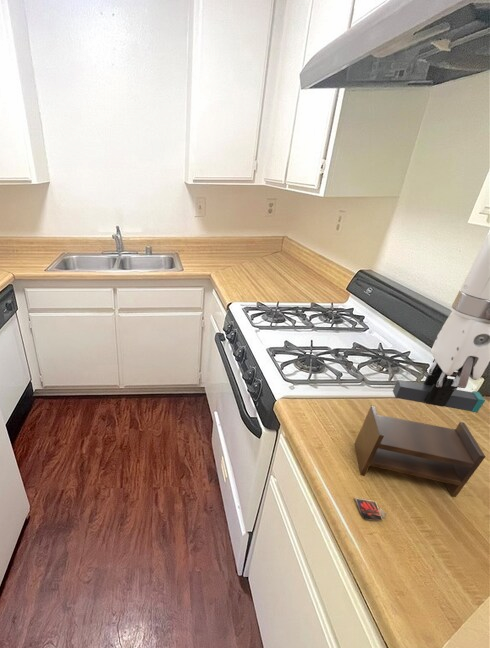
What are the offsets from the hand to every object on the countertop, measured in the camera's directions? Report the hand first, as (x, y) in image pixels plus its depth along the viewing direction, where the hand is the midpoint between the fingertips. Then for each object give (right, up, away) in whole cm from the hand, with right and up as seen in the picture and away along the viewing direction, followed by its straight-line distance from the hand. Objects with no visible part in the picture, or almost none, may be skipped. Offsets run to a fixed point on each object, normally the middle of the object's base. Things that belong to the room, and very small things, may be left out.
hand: (431, 398), depth 65 cm
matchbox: (-12, -21, -1) cm, 24 cm away
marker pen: (0, 0, 0) cm, 0 cm away
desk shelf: (0, -15, +8) cm, 17 cm away
